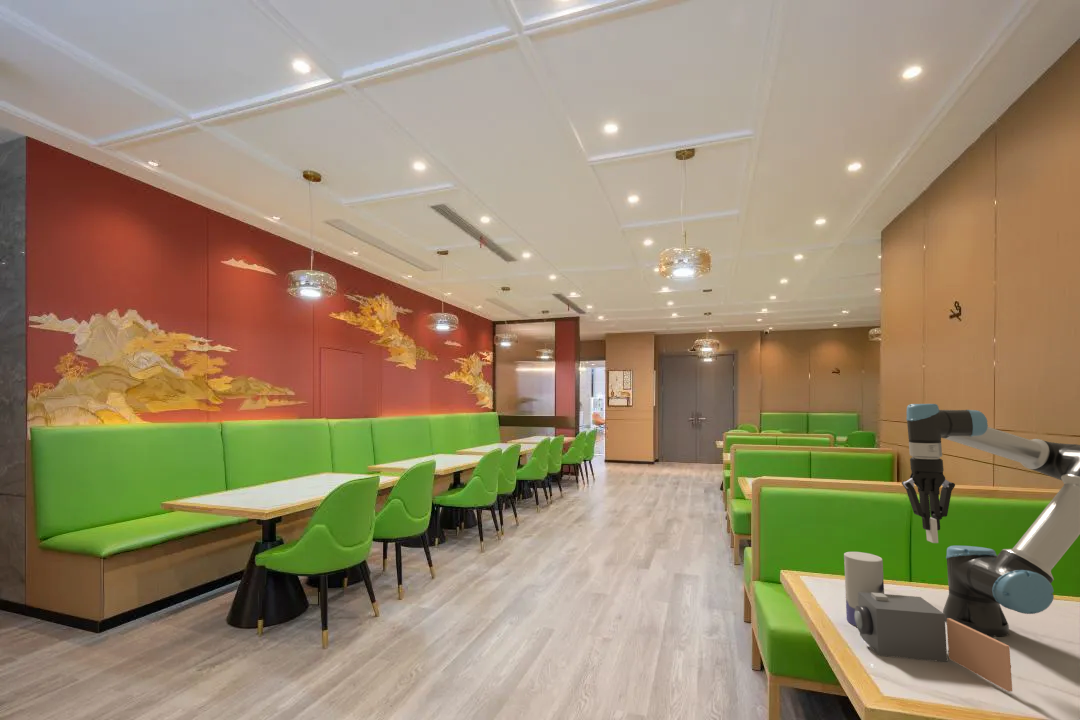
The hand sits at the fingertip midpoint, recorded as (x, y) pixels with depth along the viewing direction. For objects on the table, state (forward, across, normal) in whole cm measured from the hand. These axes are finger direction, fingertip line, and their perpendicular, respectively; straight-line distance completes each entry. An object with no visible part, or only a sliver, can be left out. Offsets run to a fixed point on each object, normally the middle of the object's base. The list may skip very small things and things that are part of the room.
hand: (932, 541), depth 143 cm
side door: (+27, -1, -18) cm, 32 cm away
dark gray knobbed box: (+27, -14, -4) cm, 31 cm away
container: (+28, -14, +11) cm, 33 cm away
